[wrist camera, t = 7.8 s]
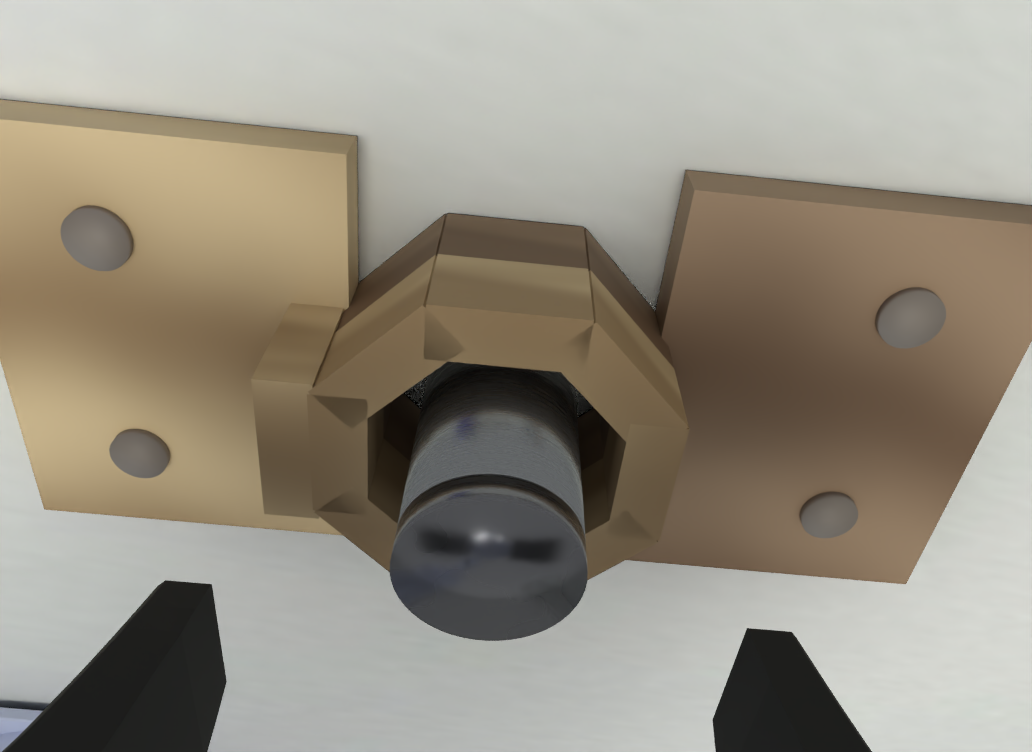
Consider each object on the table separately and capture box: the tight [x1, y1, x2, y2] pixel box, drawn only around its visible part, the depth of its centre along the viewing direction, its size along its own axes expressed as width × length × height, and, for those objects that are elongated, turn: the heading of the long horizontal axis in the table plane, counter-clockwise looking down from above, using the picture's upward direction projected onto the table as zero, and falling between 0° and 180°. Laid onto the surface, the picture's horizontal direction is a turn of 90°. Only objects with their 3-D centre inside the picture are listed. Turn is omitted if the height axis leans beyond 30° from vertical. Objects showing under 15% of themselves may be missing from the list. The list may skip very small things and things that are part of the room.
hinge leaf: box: [0, 99, 689, 580], centre depth 16 cm, size 9×13×4 cm
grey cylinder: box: [390, 362, 588, 641], centre depth 15 cm, size 3×3×6 cm
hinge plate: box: [336, 170, 1032, 584], centre depth 17 cm, size 9×13×2 cm
